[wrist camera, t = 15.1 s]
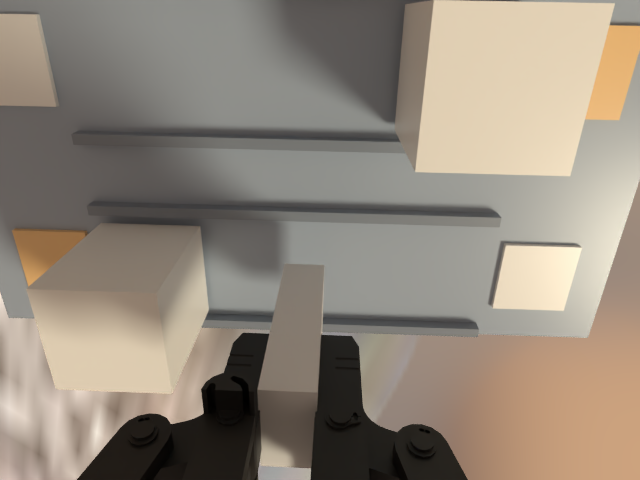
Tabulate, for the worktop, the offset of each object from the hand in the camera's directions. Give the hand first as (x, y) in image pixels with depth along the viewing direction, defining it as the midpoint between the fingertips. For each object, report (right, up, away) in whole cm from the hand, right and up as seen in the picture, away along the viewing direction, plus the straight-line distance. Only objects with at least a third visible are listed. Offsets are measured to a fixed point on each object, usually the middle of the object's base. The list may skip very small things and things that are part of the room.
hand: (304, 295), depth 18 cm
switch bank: (0, +5, +2) cm, 6 cm away
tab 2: (+5, +8, -2) cm, 10 cm away
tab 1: (-6, +1, +2) cm, 7 cm away
